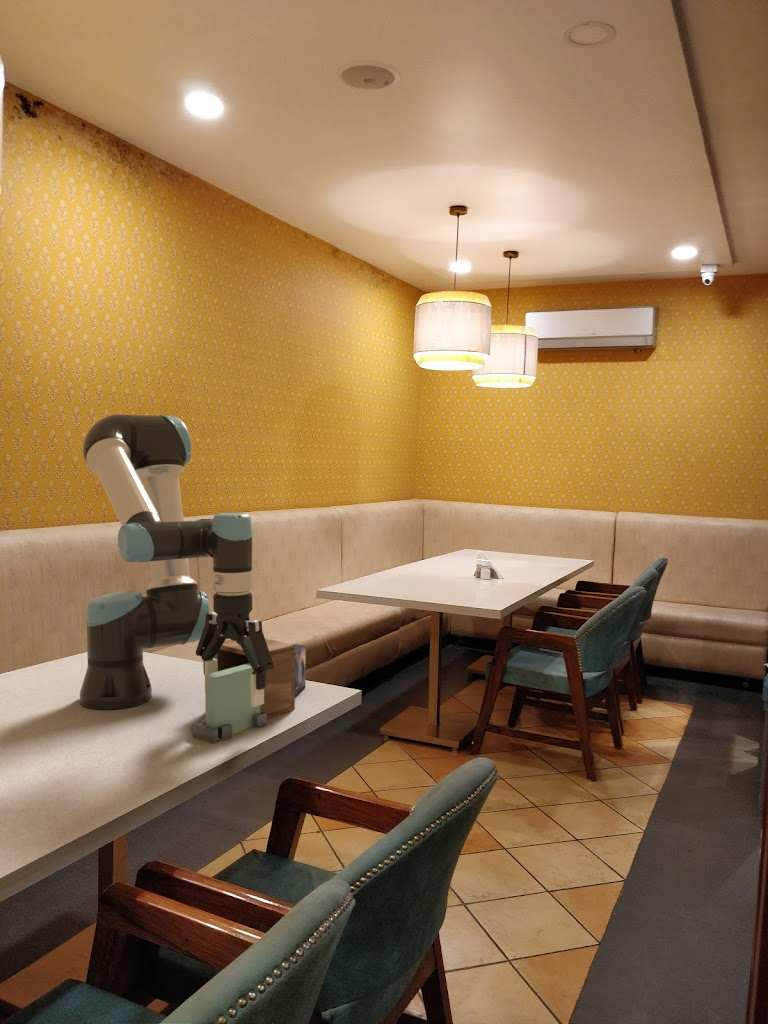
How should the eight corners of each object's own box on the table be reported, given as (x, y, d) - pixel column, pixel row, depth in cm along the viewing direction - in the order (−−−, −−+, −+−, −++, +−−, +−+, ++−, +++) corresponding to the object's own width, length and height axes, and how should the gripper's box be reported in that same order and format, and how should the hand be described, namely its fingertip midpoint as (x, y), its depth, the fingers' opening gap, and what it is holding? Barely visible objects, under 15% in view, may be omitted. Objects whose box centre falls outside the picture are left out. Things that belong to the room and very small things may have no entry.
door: (205, 735, 157) (205, 674, 156) (250, 720, 166) (249, 662, 165) (215, 739, 155) (215, 677, 155) (260, 723, 164) (260, 665, 164)
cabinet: (215, 707, 174) (214, 643, 173) (250, 696, 182) (249, 635, 181) (260, 721, 166) (259, 653, 165) (294, 709, 173) (294, 644, 172)
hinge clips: (192, 736, 157) (192, 723, 157) (245, 718, 167) (245, 706, 167) (213, 743, 153) (213, 730, 153) (266, 725, 163) (266, 712, 163)
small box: (293, 701, 179) (292, 654, 178) (265, 699, 180) (264, 653, 180) (307, 688, 189) (307, 643, 189) (280, 686, 191) (280, 642, 190)
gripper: (177, 587, 164) (178, 690, 165) (262, 602, 148) (263, 716, 150) (206, 583, 169) (207, 682, 171) (291, 596, 154) (292, 706, 156)
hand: (233, 698), depth 160 cm, fingers open, 13 cm apart
